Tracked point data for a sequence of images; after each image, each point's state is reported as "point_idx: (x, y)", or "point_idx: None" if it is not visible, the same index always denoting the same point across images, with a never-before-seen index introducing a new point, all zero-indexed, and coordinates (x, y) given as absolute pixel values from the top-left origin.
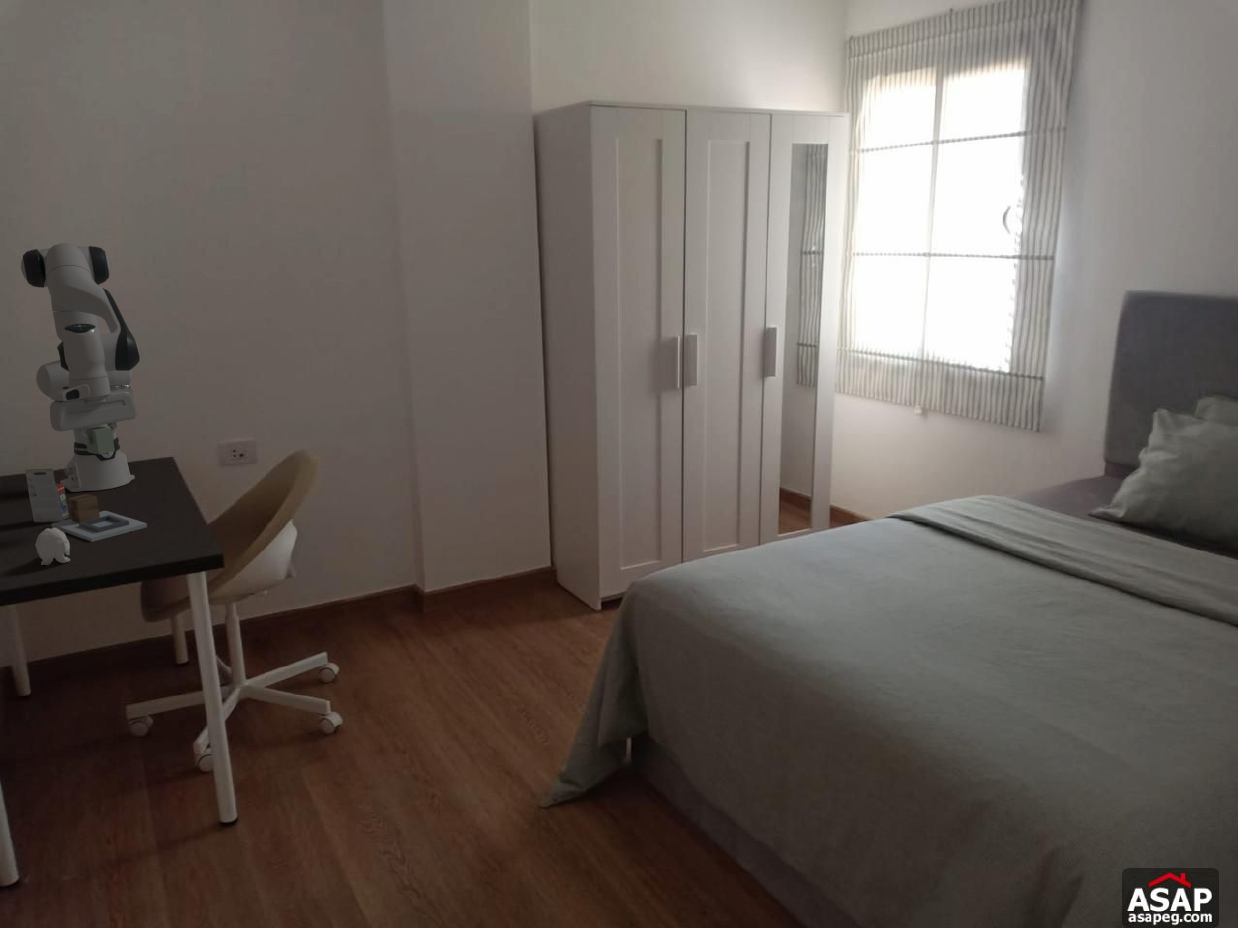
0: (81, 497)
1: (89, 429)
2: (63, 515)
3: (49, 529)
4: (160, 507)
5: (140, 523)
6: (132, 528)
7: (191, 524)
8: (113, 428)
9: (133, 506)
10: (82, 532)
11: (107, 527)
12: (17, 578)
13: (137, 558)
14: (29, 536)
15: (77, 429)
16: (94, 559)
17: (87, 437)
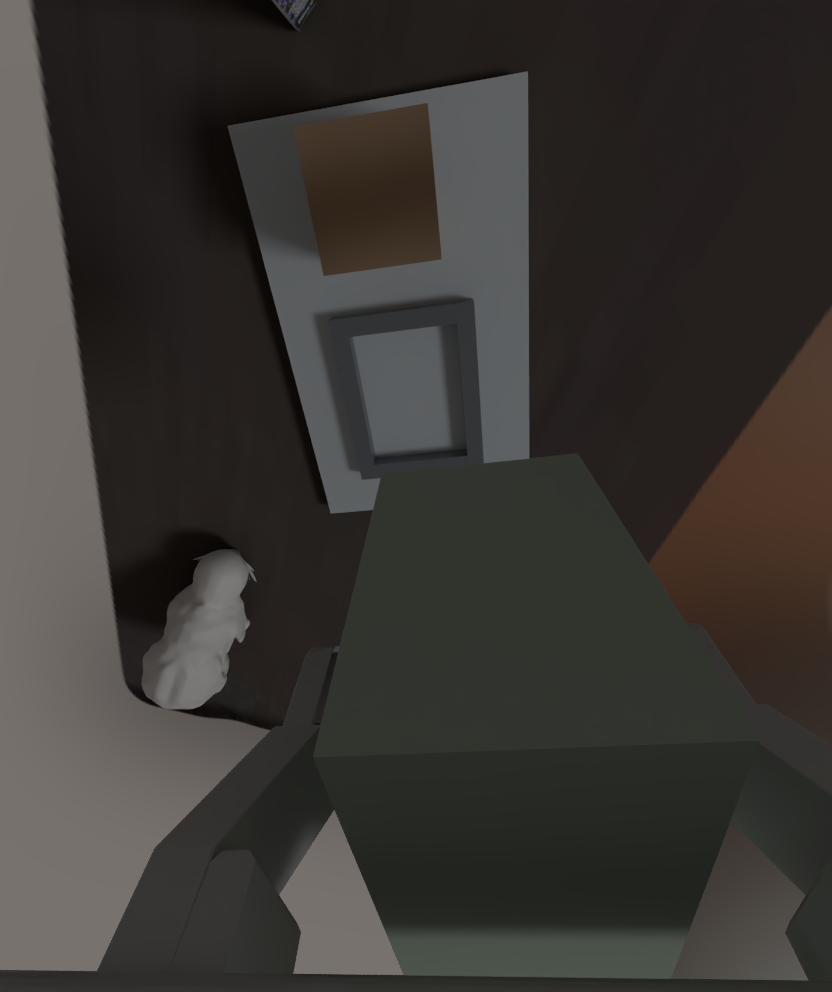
0: (367, 186)
1: (396, 854)
2: (299, 8)
3: (168, 695)
4: (758, 210)
5: None
6: None
7: None
8: (791, 879)
9: (713, 11)
10: (322, 424)
11: None
12: (132, 641)
13: None
14: (136, 222)
15: (136, 933)
16: (303, 645)
17: (325, 801)
